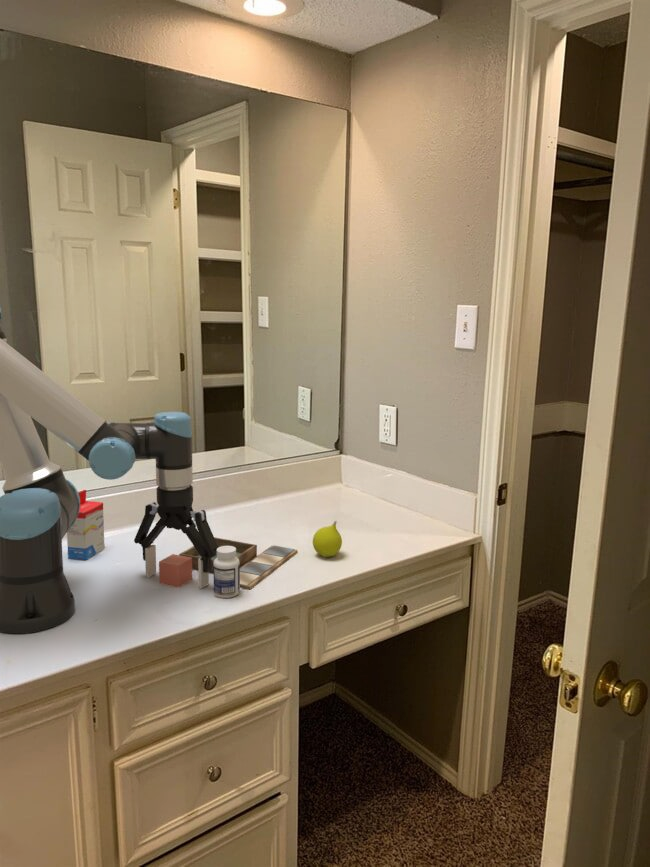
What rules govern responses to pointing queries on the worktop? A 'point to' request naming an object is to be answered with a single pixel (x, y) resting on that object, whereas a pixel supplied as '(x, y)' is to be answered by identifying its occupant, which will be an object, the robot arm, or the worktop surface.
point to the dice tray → (243, 550)
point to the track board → (264, 565)
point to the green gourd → (327, 541)
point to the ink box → (86, 530)
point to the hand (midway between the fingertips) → (177, 580)
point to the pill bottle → (226, 572)
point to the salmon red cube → (175, 570)
